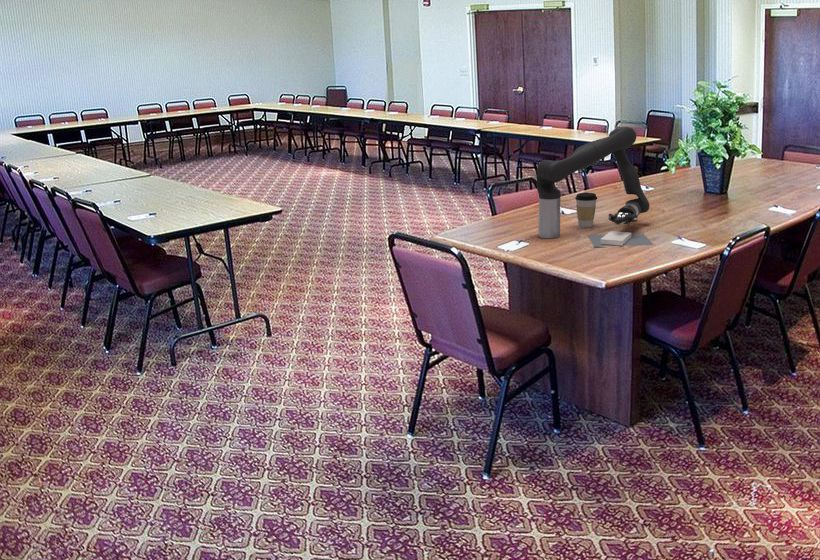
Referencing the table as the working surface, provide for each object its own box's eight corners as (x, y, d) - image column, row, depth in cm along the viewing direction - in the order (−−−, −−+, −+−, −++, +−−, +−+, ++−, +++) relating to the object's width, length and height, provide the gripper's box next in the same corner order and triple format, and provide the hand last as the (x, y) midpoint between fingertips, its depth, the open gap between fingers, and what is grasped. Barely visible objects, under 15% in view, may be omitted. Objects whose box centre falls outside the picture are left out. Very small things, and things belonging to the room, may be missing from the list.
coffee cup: (600, 226, 355) (601, 193, 351) (588, 230, 348) (589, 197, 344) (582, 223, 362) (583, 191, 357) (570, 227, 355) (570, 195, 351)
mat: (594, 247, 319) (594, 246, 319) (587, 236, 338) (587, 234, 338) (653, 246, 317) (653, 244, 317) (643, 234, 336) (643, 233, 336)
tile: (610, 231, 333) (600, 239, 321) (631, 232, 329) (622, 240, 316) (610, 236, 334) (600, 244, 321) (631, 237, 330) (622, 246, 317)
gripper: (613, 204, 341) (602, 212, 326) (643, 205, 335) (633, 214, 320) (612, 220, 343) (601, 229, 329) (643, 223, 337) (633, 231, 322)
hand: (617, 222), depth 324 cm, fingers closed
